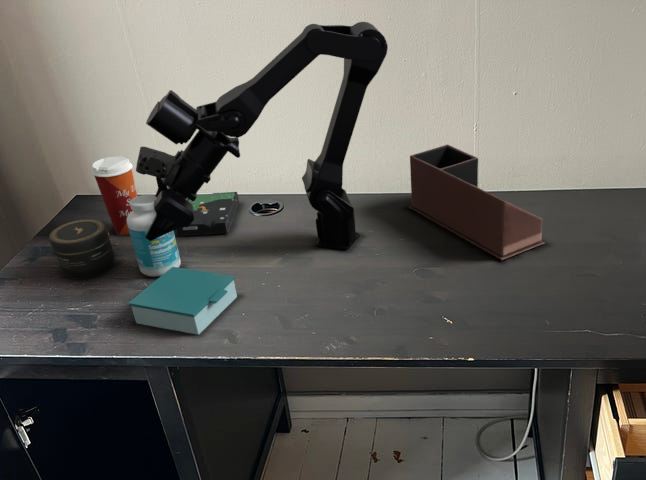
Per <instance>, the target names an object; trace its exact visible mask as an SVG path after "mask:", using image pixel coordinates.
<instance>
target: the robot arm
mask: <svg viewBox="0 0 646 480" xmlns="http://www.w3.org/2000/svg"><path fill="white" fill-rule="evenodd" d="M386 39H387V38H386V37H385V35H383V34H382V32H380V30H379V29H378V28H377V27H376V26H375V25H374V24H372V23H370V22H368V21H359V22H356V23H354V24H353V25H343V24H339V25H338V24H334V25H333V24H331V25H330V24H328V25H323V24H319V23H318V24H317V23H310V24H308V25H307V26H305V27H304V28H303V30H302V31H301V33H300V34H299V35H297V37H295V38H294V39H293V40H292V41H291V42H290V43H289V44H288V45H287V46H286V47H284V49H283V50H282V51H281V52H279V53H278V54H277V55H276V56H275V57H274V58H273V59H272V60H271V61H269V62H268V63H267V64H266V65H265V66H264V67H263V68H262V69H261V70H260V71H259V72H257V74H255V76H254V77H252V78H250V79H249V80H247V81H245V82H243V83H241V84H239V85H237V86H235V87H232V89H230V90H228V91H227V92H225V93H223V94H222V95H221V96H219V97H218V99H217V100H215V101H214V102H209V103H206V104H201V105H198V106H196V107H194V106H193V105H191V104H189V103H188V102H187V101H185V100H184V99H183V98H181V97H180V95H179V94H177V93H176V92H175V91H173V90H172V89H169V90H168V91H167V93H166V94H165V95H164V96H163V97H162V98H161V99H160V101H157V102H156V104H155V105H154V107H153V108H152V110H151V111H150V113H149V115H148V117H147V119H146V121H145V125H147V126H148V127H150V128H151V129H152V130H154V131H155V132H157V133H159V134H160V135H162V136H163V137H164V138H166V139H168V140H169V141H170V142H172V143H173V144H175V145H179V144H180V145H184V144H187V143H188V142H189V143H188V144H187V146H186V147H185V149H183V150H182V149H181V150H178V151H177V152H176V153H175V154H174V155H173V154H169V153H167V152H164V151H161V150H158V149H155V148H151V147H148V146H140V147H139V152H138V156H137V161H136V166H135V171H136V173H137V174H140V175H142V176H143V175H144V176H145V175H148V176H152V177H154V178H155V180H156V184H157V189H156V192H155V195H154V196H156V197H157V199H156V201H154V209H155V211H156V216H155V218H154V220H153V222H152V224H151V226H150V228H149V230H148V232H147V234H146V239H148V240H149V241H152V240H154V239H156V238H158V237H160V236H163V235H165V234H167V233H169V232H171V231H174V232H175V231H176V229H179V228H181V227H182V228H184V227H189V225H190V224H191V223H192V222H193V220H194V210H193V205H192V204H191V203H190V202H188V201H187V199H190V200H191V201H193V202H194V201H195V199H196V198H197V195H198V194H197V193H198V192H199V191H200V189H201V188H202V186H203V185H204V184H206V185H207V184H209V182H210V181H211V175H212V174H213V172H214V171H215V169H216V168H217V167H218V165H219V164H220V163H221V162H222V160H224V157H225V156H226V155H227V154H228V153H229V154H231V155H233V156H234V157H235V158H237V159H238V158H240V157H241V152H240V139H239V138H242V137H243V136H245V135H246V134H247V133H248V132H249V130H251V128H252V127H253V125H254V124H255V123H256V122H257V120H258V119H259V117H260V115H261V114H262V112H263V111H264V109H265V107H266V106H267V105H268V103H269V102H270V101H271V99H273V98H274V97H275V96H276V95H277V94H278V93H280V92H281V91H282V90H283V89H284V88H285V87H286V86H287V85H288V84H289V83H291V81H293V79H295V78H296V77H297V76H298V75H299V74H300V73H301V72H303V71H304V70H305V69H306V68H307V67H308V66H309V65H310V64H311V63H312V62H314V61H315V60H316V59H317V58H318V57H319V56H320V55H321V56H322V55H324V56H331V57H336V58H340V59H343V76H342V80H341V84H340V87H339V90H338V94H337V96H336V101H335V103H334V107H333V111H332V114H331V117H330V121H329V125H328V128H327V132H326V134H325V138H324V142H323V145H322V148H321V152H320V153H319V155H318V157H317V158H316V159H315V160H312V159H310V158H308V159H307V162H306V169H305V171H304V174H303V175H302V177H301V181H302V183H303V187H304V191H305V193H306V196H307V199H308V202H309V205H310V206H311V208H313V209H314V210H315V211H317V212H316V219H315V227H316V233H317V234H316V235H317V240H318V241H317V242H316V244H315V245H316V247H319V248H320V247H321V248H327V249H334V250H341V251H348V250H349V249H350V248H351V247H352V245H354V243H355V242H356V241H357V240H358V238H359V237H360V236H361V234H360V232H357V231H356V230H357V229H356V219H355V209H354V206H353V204H352V202H351V200H350V198H349V196H348V193H347V191H346V189H344V188H343V181H344V180H343V179H344V176H343V174H344V172H343V171H344V162H345V160H346V156H347V153H348V149H349V146H350V143H351V140H352V136H353V133H354V130H355V127H356V124H357V120H358V117H359V114H360V110H361V108H362V104H363V101H364V98H365V94H366V92H367V88H368V87H369V85H370V84H371V82H372V81H373V80H374V78H375V77H376V75H377V74H378V73H379V70H380V69H381V67H382V65H383V63H384V61H385V59H386V57H387V55H388V42H387V40H386ZM196 131H197V132H196ZM194 134H195V135H194Z"/></svg>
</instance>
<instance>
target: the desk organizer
mask: <svg viewBox="0 0 646 480" xmlns="http://www.w3.org/2000/svg"><path fill="white" fill-rule="evenodd" d="M409 169H410V170H409V171H410V190H411V191H410V195H411V205H409V206H408V209H410V210H412V211H414V212H415V213H417V214H419V215H421V216H423V217H424V218H426V219H428V220H430V221H431V222H432V223H435V224H437V225H439V226H440V227H442V228H444V229H445V230H448V231H449V232H451V233H453V234H455V235H456V236H458V237H460V238H461V239H464V240H465V241H467V242H469V243H470V244H472V245H474V246H475V247H477V248H479V249H481V250H482V251H484V252H486V253H488V254H490V255H491V256H493V257H495V258H496V259H498V260H500V261H502V262H503V261H504V260H507V259H509V258H511V257H514V256H517V255H519V254H521V253H524V252H527V251H529V250H531V249H534V248H537V247H539V246H542V245H545V244H546V242H545V241H543V240H542V238H543V237H542V234H543V218H542V217H539V216H537V215H535V214H533V213H531V212H529V211H527V210H524V209H523V208H520V207H518V206H516V205H515V204H513V203H510V202H508V201H507V200H505V199H502V198H500V197H498V196H496V195H494V194H492V193H491V192H489V191H486V190H483V189H482V188H481V187H479V186H478V185H479V158H478V157H477V156H474V155H472V154H470V153H467V152H465V151H463V150H461V149H459V148H457V147H454V146H452V145H450V144H444V145H440V146H438V147H434V148H431V149H427V150H425V151H421V152H417V153H413V154H411V155H409Z"/></svg>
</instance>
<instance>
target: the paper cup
mask: <svg viewBox="0 0 646 480" xmlns="http://www.w3.org/2000/svg"><path fill="white" fill-rule="evenodd" d="M91 175H93V176H94V179H95V181H96V184H97V187H98V189H99V193H100V195H101V198H102V201H103V203H104V206H105V208H106V211H107V213H108V216H109V219H110V221H111V224H112V226H113V229H114V231H115V234H117V235H122V236H128V235H129V236H130V233H129V229H128V225H127V217H128V215H129V214H130V213H131V212H132V211H133V210H132V209H131V206H130V200H131V199H133V198H135V197H137V196H138V192H137V188H136V183H135V177H134V172H133V163H131V162H130V159H128V158H127V157H125V156H120V155H119V156H118V155H117V156H108V157H102V158H100V159H98V160H96V161H94V162H93V163H92V165H91Z"/></svg>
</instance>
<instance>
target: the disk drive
mask: <svg viewBox="0 0 646 480" xmlns="http://www.w3.org/2000/svg"><path fill="white" fill-rule="evenodd" d="M186 200H187V201H188V202H190V203H191V204H192V205H193V210H194V220H193V222H192V223H191V224H190V225H189V227H184V228H182V227H181V228H179V229H176V230H175V231H176V234H177V236H202V235H203V236H204V235H219V234H227V233H229V232H230V230H231V226H232V224H233V221H234V217H235V215H236V213H237V209H238V207H239V204H240V199H239V193H238V192H237V191H231V192H229V191H226V192H224V191H223V192H212V193H205V194H197V198H196V199H195V201H194V202H193V201H191V200H190V199H188V198H186Z"/></svg>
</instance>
